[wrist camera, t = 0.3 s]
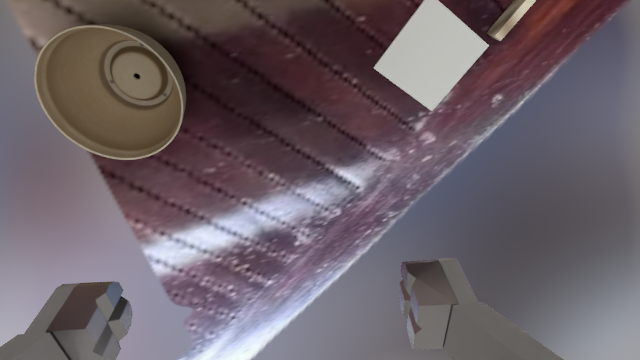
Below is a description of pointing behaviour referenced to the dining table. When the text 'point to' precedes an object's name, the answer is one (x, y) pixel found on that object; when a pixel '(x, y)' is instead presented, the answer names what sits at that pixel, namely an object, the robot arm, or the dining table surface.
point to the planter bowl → (111, 90)
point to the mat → (430, 53)
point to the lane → (509, 18)
